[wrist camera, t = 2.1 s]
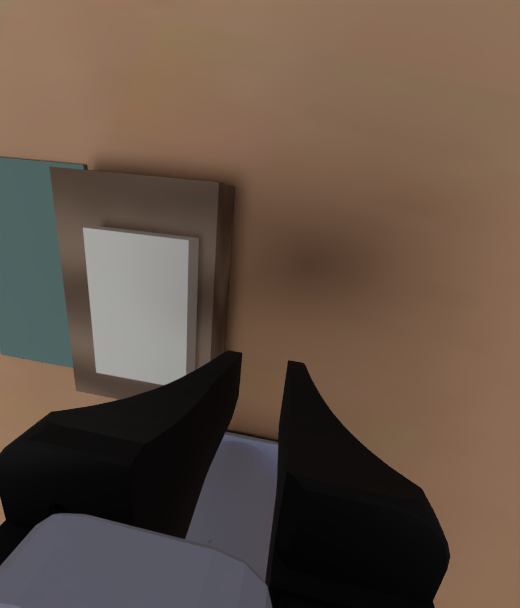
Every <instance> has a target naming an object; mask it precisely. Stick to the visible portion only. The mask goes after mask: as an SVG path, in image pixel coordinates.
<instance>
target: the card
mask: <svg viewBox="0 0 520 608" xmlns="http://www.w3.org/2000/svg"><path fill="white" fill-rule="evenodd" d="M83 235H84V246H85V257H86V268H87V279H88V289H89V300H90V311H91V322H92V333H93V343H94V354H95V365H96V373H101V374H106V375H112V376H117V377H122V378H128V379H133V380H138V381H144V382H149V383H155V384H160V385H166V384H168V383H171V382H173V381H175V380H177V379H179V378H181V377H183V376H185V375H187V374H189V373H191V372H193V371H194V370H195V355H196V322H197V289H198V256H199V238H196V237H187V236H179V235H170V234H162V233H154V232H145V231H137V230H128V229H120V228H111V227H103V226H99V227H84V228H83Z"/></svg>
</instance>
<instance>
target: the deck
mask: <svg viewBox="0 0 520 608" xmlns="http://www.w3.org/2000/svg"><path fill="white" fill-rule="evenodd" d="M49 168H50V176H51V185H52V193H53V201H54V210H55V218H56V226H57V235H58V243H59V252H60V260H61V268H62V277H63V285H64V293H65V302H66V310H67V318H68V327H69V335H70V343H71V352H72V360H73V368H74V377H75V385H76V391H80V392H85V393H90V394H95V395H100V396H106V397H111V398H116V399H124V398H128V397H131V396H134V395H138V394H141V393H144V392H147V391H150V390H153V389H156V388H158V387H161V386H163V385H160V384H155V383H149V382H144V381H138V380H133V379H128V378H122V377H117V376H112V375H106V374H101V373H96V365H95V354H94V343H93V333H92V322H91V311H90V300H89V289H88V279H87V268H86V257H85V246H84V235H83V228H84V227H99V226H103V227H111V228H120V229H128V230H137V231H145V232H154V233H162V234H170V235H179V236H187V237H196V238H199V256H198V289H197V322H196V355H195V370H196V369H198V368H200V367H201V366H203V365H205V364H206V363H208V362H210V361H211V360H213V359H215V358H216V357H218V356H219V355H221V354H222V353H224V348H225V333H226V318H227V302H228V287H229V272H230V256H231V241H232V226H233V210H234V195H235V187H232V186H229V185H226V184H223V183H220V182H212V181H201V180H190V179H180V178H169V177H158V176H147V175H137V174H126V173H115V172H104V171H94V170H83V169H72V168H61V167H51V166H49Z"/></svg>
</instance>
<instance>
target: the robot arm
mask: <svg viewBox="0 0 520 608" xmlns="http://www.w3.org/2000/svg"><path fill="white" fill-rule="evenodd" d="M241 362H242V353H240V352H234V351H226V352H224V353H222V354H221V355H219V356H218V357H216V358H215V359H213V360H211V361H210V362H208V363H206V364H205V365H203V366H201V367H200V368H198V369H196V370H194V371H193V372H191V373H189V374H187V375H185V376H183V377H181V378H179V379H177V380H175V381H173V382H171V383H168V384H166V385H163V386H161V387H158V388H156V389H153V390H150V391H147V392H144V393H141V394H138V395H134V396H131V397H128V398H124V399H120V400H116V401H112V402H108V403H103V404H99V405H94V406H88V407H82V408H75V409H68V410H62V411H54V412H50V413H49V414H48V415H46V416H45V417H44V418H42V419H41V420H40V421H39V422H37V423H36V424H35V425H33V426H32V427H31V428H30V429H28V430H27V431H26V432H24V433H23V434H22V435H20V436H19V437H18V438H17V439H15V440H14V441H13V442H11V443H10V444H9V445H8V446H6V447H5V448H4V449H3V450H2V452H1V453H0V498H1V502H2V506H3V510H4V514H5V518H6V520H5V521H4V522H3V524H2V525H1V526H0V608H435V607H434V604H433V599H434V597H435V595H436V593H437V591H438V588H439V586H440V584H441V582H442V580H443V577H444V575H445V573H446V571H447V568H448V564H449V559H450V553H449V547H448V542H447V540H446V538H445V535H444V533H443V530H442V528H441V526H440V523H439V521H438V519H437V517H436V515H435V513H434V510H433V508H432V507H431V505H430V503H429V501H428V499H427V498H426V496H425V494H424V492H423V490H422V488H420V487H419V486H417V485H416V484H414V483H413V482H411V481H410V480H408V479H407V478H405V477H404V476H403V475H401V474H400V473H398V472H397V471H395V470H394V469H392V468H391V467H390V466H388V465H387V464H386V463H384V462H383V461H382V460H381V459H379V458H378V457H377V456H376V455H374V454H373V453H372V452H371V451H370V450H368V449H367V448H366V447H365V446H364V445H363V444H362V443H360V442H359V441H358V440H357V439H356V438H355V437H354V436H353V435H352V434H351V433H350V432H349V431H348V430H347V429H346V428H345V427H344V426H343V425H342V423H341V422H340V421H339V420H338V419H337V418H336V416H335V415H334V414H333V413H332V411H331V410H330V409H329V407H328V406H327V404H326V403H325V401H324V400H323V398H322V397H321V395H320V393H319V392H318V390H317V388H316V387H315V385H314V383H313V381H312V379H311V377H310V375H309V373H308V370H307V368H306V365H305V364H304V363H301V362H295V361H289V360H288V366H287V372H286V379H285V386H284V393H283V400H282V407H281V414H280V421H279V433H278V442H275V441H270V440H265V439H260V438H255V437H250V436H245V435H240V434H235V433H230V432H226V430H227V428H228V426H229V423H230V421H231V419H232V416H233V413H234V410H235V406H236V403H237V400H238V396H239V385H240V374H241Z"/></svg>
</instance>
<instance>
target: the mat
mask: <svg viewBox="0 0 520 608" xmlns="http://www.w3.org/2000/svg"><path fill="white" fill-rule="evenodd" d="M49 166H51V167H61V168H72V169H83V170H87V166H86V165H79V164H68V163H57V162H46V161H35V160H24V159H13V158H2V157H0V349H1V354H2V355H7V356H13V357H18V358H23V359H29V360H34V361H39V362H45V363H50V364H56V365H61V366H66V367H72V368H73V360H72V352H71V343H70V335H69V327H68V318H67V310H66V302H65V293H64V285H63V277H62V268H61V260H60V252H59V243H58V235H57V226H56V218H55V210H54V201H53V193H52V185H51V176H50V168H49Z"/></svg>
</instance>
